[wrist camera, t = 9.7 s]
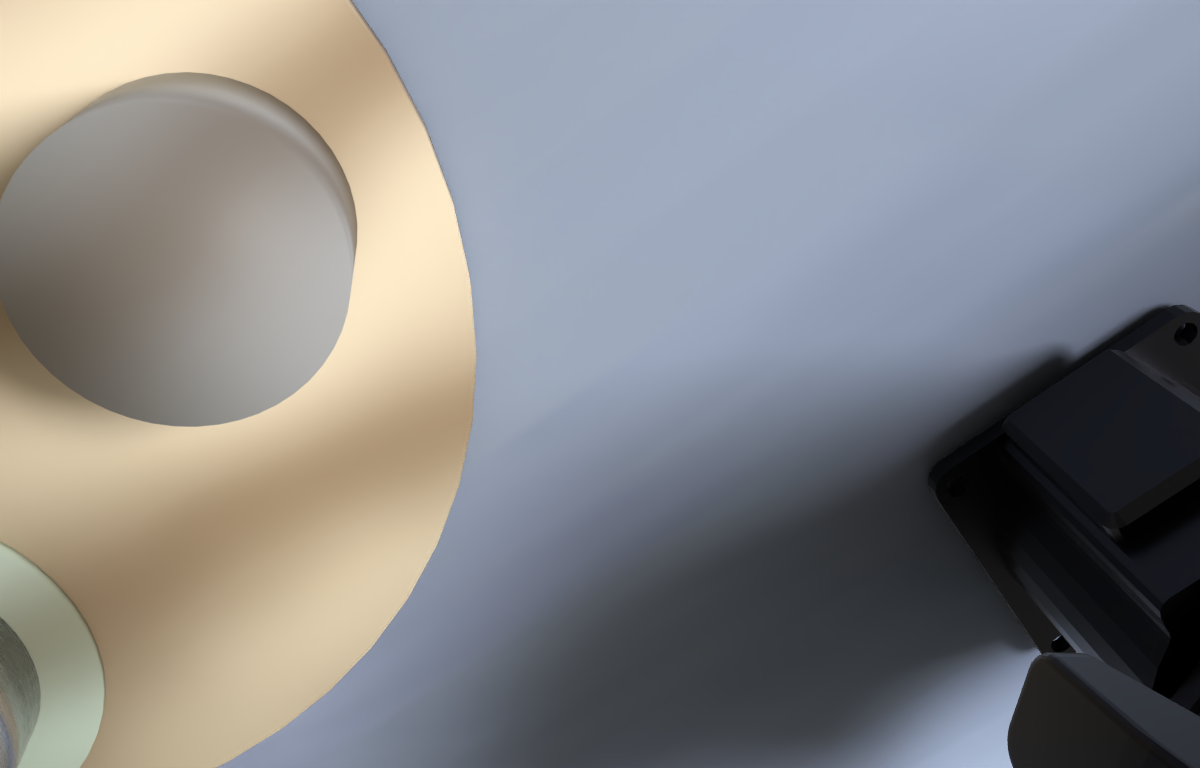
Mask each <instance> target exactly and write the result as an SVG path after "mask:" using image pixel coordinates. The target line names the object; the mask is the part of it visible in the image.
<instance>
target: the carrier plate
mask: <svg viewBox="0 0 1200 768" xmlns="http://www.w3.org/2000/svg"><path fill="white" fill-rule="evenodd" d="M475 369H476V344H475V332H474V320H473V308H472V296H471V284H470V277H469V271H468V266H467V261H466V257H465V252H464V248H463V244H462V239H461V235H460V230H459V226H458V221H457V217H456V212H455V208H454V203H453V199H452V196H451V193H450V190H449V188H448V185H447V182H446V180H445V177H444V174H443V171H442V169H441V166H440V163H439V161H438V158H437V155H436V153H435V150H434V147H433V144H432V142H431V139H430V136H429V134H428V131H427V128H426V126H425V123H424V121H423V119H422V118H421V116H420V114H419V112H418V110H417V108H416V106H415V104H414V102H413V100H412V98H411V97H410V95H409V93H408V91H407V89H406V87H405V85H404V83H403V81H402V79H401V78H400V76H399V74H398V72H397V70H396V68H395V66H394V64H393V62H392V60H391V58H390V57H389V55H388V53H387V51H386V49H385V48H384V46H383V45H382V43H381V42H380V41H379V39H378V38H377V36H376V35H375V33H374V32H373V30H372V29H371V28H370V26H369V25H368V23H367V22H366V20H365V19H364V18H363V16H362V15H361V13H360V12H359V10H358V9H357V7H356V6H355V5H354V3H353V2H352V0H0V617H1V618H2V619H3V620H4V621H5V622H6V623H7V624H8V625H9V626H10V627H11V628H12V629H13V631H14V632H15V633H16V634H17V635H18V637H19V638H20V639H21V641H22V642H23V644H24V645H25V647H26V648H27V650H28V652H29V654H30V656H31V658H32V660H33V662H34V665H35V668H36V671H37V674H38V677H39V683H40V691H41V702H40V712H39V716H38V720H37V724H36V726H35V729H34V731H33V733H32V736H31V738H30V740H29V743H28V745H27V747H26V750H25V752H24V754H23V757H22V759H21V761H20V764H19V766H18V768H216V767H218V766H220V765H222V764H224V763H226V762H228V761H230V760H232V759H233V758H235V757H237V756H238V755H240V754H241V753H243V752H245V751H246V750H248V749H250V748H251V747H253V746H254V745H256V744H258V743H259V742H261V741H263V740H264V739H266V738H267V737H269V736H271V735H272V734H274V733H276V732H277V731H279V730H280V729H282V728H283V727H285V726H286V725H287V724H288V723H290V722H291V721H292V720H293V719H295V718H296V717H297V716H298V715H300V714H301V713H302V712H303V711H305V710H306V709H307V708H308V707H310V706H311V705H312V704H313V703H315V702H316V701H317V700H318V699H320V698H321V697H322V696H323V695H325V694H326V693H327V692H328V691H330V690H331V689H332V688H333V687H334V686H335V685H336V684H337V683H338V682H339V680H340V679H341V678H342V677H343V676H344V675H345V674H346V673H347V672H348V671H349V670H350V669H351V668H352V667H353V666H354V665H355V664H356V663H357V662H358V661H359V660H360V659H361V658H362V657H363V656H364V655H365V654H366V653H367V652H368V651H369V650H370V649H371V648H372V646H373V645H374V644H375V642H376V641H377V640H378V638H379V637H380V636H381V634H382V633H383V632H384V630H385V629H386V627H387V626H388V625H389V623H390V622H391V621H392V619H393V618H394V617H395V615H396V614H397V613H398V611H399V610H400V609H401V607H402V606H403V604H404V603H405V602H406V600H407V599H408V598H409V596H410V594H411V592H412V590H413V588H414V587H415V585H416V583H417V581H418V579H419V577H420V575H421V574H422V572H423V570H424V568H425V566H426V564H427V563H428V561H429V559H430V557H431V555H432V553H433V551H434V550H435V548H436V546H437V544H438V541H439V539H440V536H441V533H442V530H443V528H444V525H445V522H446V520H447V517H448V514H449V511H450V509H451V506H452V503H453V501H454V498H455V495H456V492H457V490H458V487H459V483H460V479H461V474H462V469H463V464H464V459H465V455H466V450H467V445H468V440H469V436H470V431H471V426H472V419H473V402H474V386H475Z"/></svg>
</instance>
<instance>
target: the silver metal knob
mask: <svg viewBox="0 0 1200 768" xmlns="http://www.w3.org/2000/svg"><path fill="white" fill-rule="evenodd" d="M40 702H41V691H40V683H39V677H38V674H37V671H36V668H35V665H34V662H33V660H32V658H31V656H30V654H29V652H28V650H27V648H26V647H25V645H24V644H23V642H22V641H21V639H20V638H19V637H18V635H17V634H16V633H15V632H14V631H13V629H12V628H11V627H10V626H9V625H8V624H7V623H6V622H5V621H4V620H3V619H2V618H1V617H0V768H18V766H19V764H20V761H21V759H22V757H23V754H24V752H25V750H26V747H27V745H28V743H29V740H30V738H31V736H32V733H33V731H34V729H35V726H36V724H37V720H38V716H39V712H40Z"/></svg>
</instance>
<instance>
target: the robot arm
mask: <svg viewBox="0 0 1200 768" xmlns="http://www.w3.org/2000/svg"><path fill="white" fill-rule="evenodd" d="M1183 324H1185V328H1184V330H1183V332H1182V333H1181V334H1180V335H1179V336H1177V337H1175V338H1174V335H1175V332H1176V330H1177V329H1178V328H1179V327H1180V326H1181V325H1183ZM958 476H961V478H960V481H959V482H958V483H957V484H956V485H955V486H952V487H950V488H947V485H948V483H949V482H950V481H951V480H952V479H953V478H955V477H958ZM928 486H929V489H930V491H931V493H932V494H933V496H934V497H935V499H936V500H937V502H938V503H939V504H940V506H941V507H942V509H943V510H944V512H945V513H946V515H947V516H948V518H949V519H950V521H951V522H952V524H953V525H954V527H955V528H956V530H957V531H958V533H959V534H960V536H961V537H962V538H963V540H964V541H965V543H966V544H967V546H968V547H969V549H970V550H971V552H972V553H973V555H974V556H975V558H976V559H977V561H978V562H979V564H980V565H981V567H982V568H983V569H984V571H985V572H986V574H987V575H988V577H989V578H990V580H991V581H992V583H993V584H994V586H995V587H996V589H997V590H998V592H999V593H1000V595H1001V596H1002V598H1003V599H1004V601H1005V602H1006V603H1007V605H1008V606H1009V608H1010V609H1011V611H1012V612H1013V614H1014V615H1015V617H1016V618H1017V620H1018V621H1019V623H1020V624H1021V626H1022V627H1023V629H1024V630H1025V632H1026V633H1027V634H1028V636H1029V637H1030V639H1031V640H1032V642H1033V643H1034V645H1035V646H1036V647H1037V649H1038V650H1039V651H1040V652H1041V655H1039V656H1038V657H1036V658H1035V660H1034V661H1033V662H1032V663H1031V666H1030V668H1029V670H1028V673H1027V676H1026V679H1025V682H1024V685H1023V688H1022V691H1021V694H1020V697H1019V699H1018V702H1017V705H1016V708H1015V711H1014V714H1013V717H1012V720H1011V723H1010V726H1009V730H1008V739H1007V740H1008V751H1009V756H1010V760H1011V763H1012V766H1013V768H1200V313H1199V312H1198V311H1196V310H1194V309H1192V308H1191V307H1188V306H1185V305H1174V306H1172V307H1170V308H1167V309H1165V310H1164V311H1162V312H1161V313H1159V314H1158V315H1156V316H1155V317H1153V318H1152V319H1150V320H1149V321H1147V322H1146V323H1144V324H1143V325H1142V326H1140V327H1139V328H1137V329H1136V330H1134V331H1133V332H1131V333H1130V334H1128V335H1127V336H1125V337H1124V338H1122V339H1121V340H1119V341H1118V342H1116V343H1115V344H1113V345H1112V346H1110V347H1109V348H1107V349H1106V350H1104V351H1103V352H1101V353H1100V354H1098V355H1097V356H1096V357H1094V358H1093V359H1091V360H1090V361H1088V362H1087V363H1085V364H1084V365H1082V366H1081V367H1079V368H1078V369H1076V370H1075V371H1073V372H1072V373H1070V374H1069V375H1067V376H1066V377H1064V378H1063V379H1061V380H1060V381H1058V382H1057V383H1055V384H1054V385H1052V386H1051V387H1049V388H1048V389H1047V390H1045V391H1044V392H1042V393H1041V394H1039V395H1038V396H1036V397H1035V398H1033V399H1032V400H1030V401H1029V402H1027V403H1026V404H1024V405H1023V406H1021V407H1020V408H1018V409H1017V410H1015V411H1014V412H1012V413H1011V414H1009V415H1008V416H1006V417H1005V418H1003V419H1002V420H1001V421H999V422H998V423H996V424H995V425H993V426H992V427H990V428H989V429H987V430H986V431H984V432H983V433H981V434H980V435H978V436H977V437H975V438H974V439H972V440H971V441H969V442H968V443H966V444H965V445H963V446H962V447H960V448H959V449H957V450H956V451H955V452H953V453H952V454H950V455H949V456H947V457H946V458H944V459H943V460H941V461H940V462H939V463H937V464H936V465H935V466H934V467H933V468H932V470H931V472H930V474H929V476H928ZM1060 635H1061V636H1060ZM1058 636H1060V637H1059V638H1058V639H1057V640H1055V641H1053V640H1054V639H1055V638H1056V637H1058ZM1076 652H1077V653H1076Z"/></svg>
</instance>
